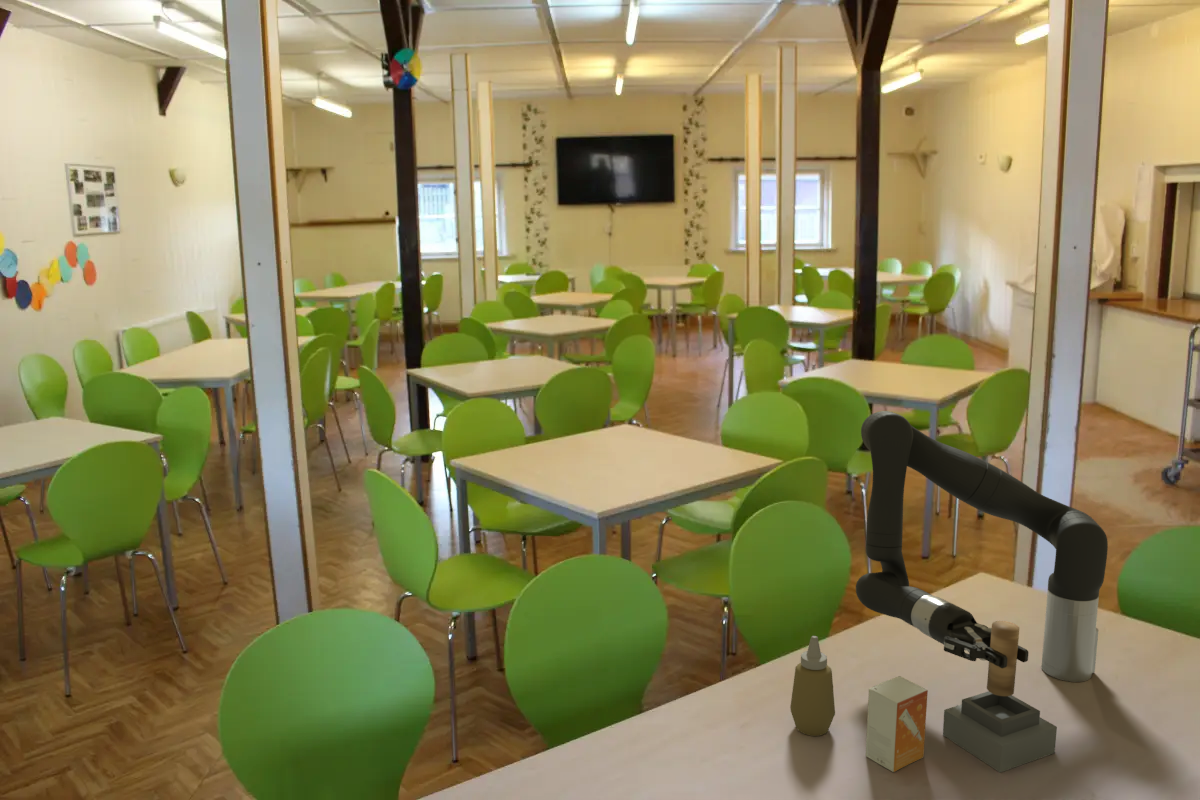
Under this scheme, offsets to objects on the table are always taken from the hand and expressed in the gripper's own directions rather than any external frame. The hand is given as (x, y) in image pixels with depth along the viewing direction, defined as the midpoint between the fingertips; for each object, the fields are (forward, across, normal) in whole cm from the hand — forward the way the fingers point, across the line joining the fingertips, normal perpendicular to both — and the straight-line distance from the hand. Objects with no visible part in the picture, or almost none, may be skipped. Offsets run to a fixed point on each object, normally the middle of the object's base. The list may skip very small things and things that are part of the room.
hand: (1015, 659), depth 164 cm
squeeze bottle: (-21, -26, +18) cm, 38 cm away
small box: (-7, -19, +18) cm, 27 cm away
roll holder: (-3, 0, +17) cm, 18 cm away
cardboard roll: (-3, 0, +7) cm, 8 cm away
